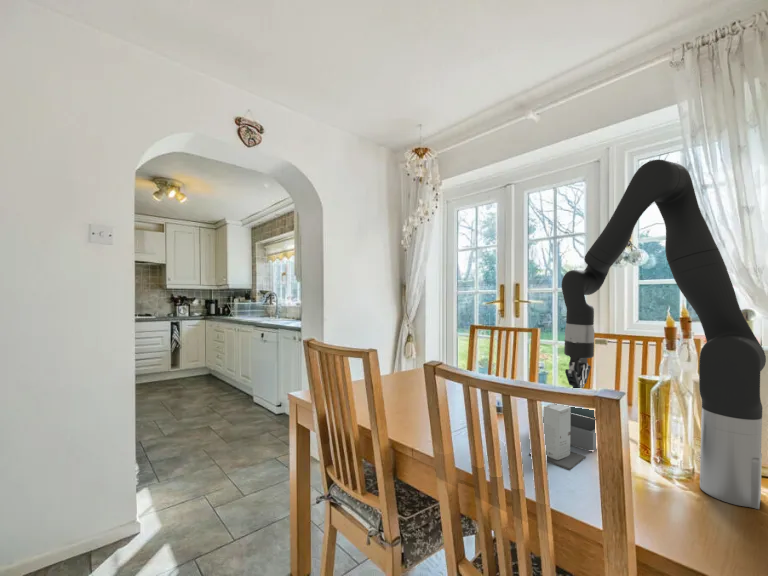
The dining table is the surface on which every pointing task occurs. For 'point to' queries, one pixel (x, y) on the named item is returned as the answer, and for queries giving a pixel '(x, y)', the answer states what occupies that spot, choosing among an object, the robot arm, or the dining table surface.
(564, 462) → the rubber mat
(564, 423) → the skincare box
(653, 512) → the dining table surface
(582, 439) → the grey open box
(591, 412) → the lid
